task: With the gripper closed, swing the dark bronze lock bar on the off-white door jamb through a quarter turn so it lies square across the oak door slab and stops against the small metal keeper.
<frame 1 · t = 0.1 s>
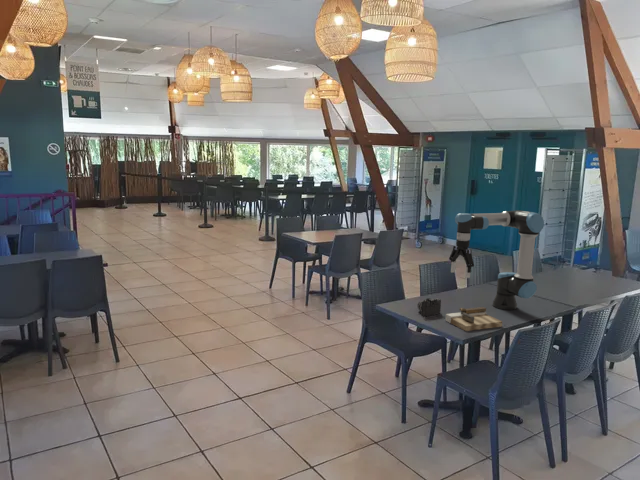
hand: (460, 275, 300), 28 cm above the table, fingers open, 13 cm apart
camera: (427, 313, 317), on the table
keeper: (467, 325, 295), resting on door slab
door slab: (476, 324, 298), on the table
swing bar: (472, 309, 307), point 6 cm above the table, hinge at 90.0°
jamb: (465, 319, 306), on the table
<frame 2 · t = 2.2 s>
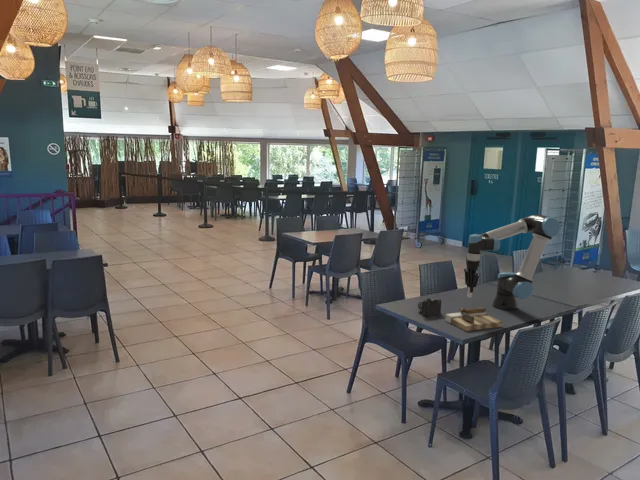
hand: (469, 297, 314), 11 cm above the table, fingers closed
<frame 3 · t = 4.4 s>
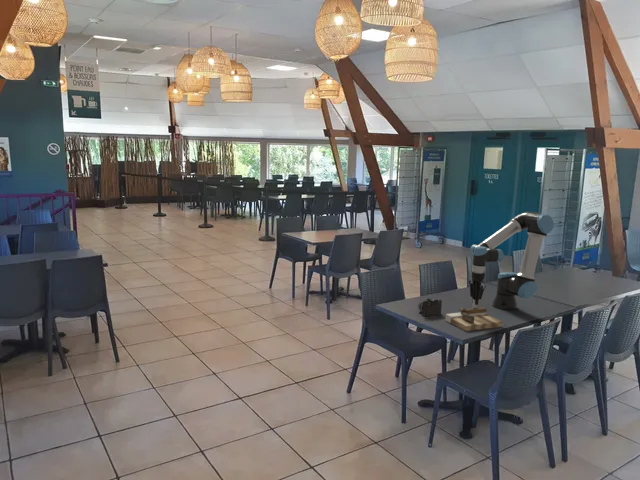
hand: (474, 309, 310), 5 cm above the table, fingers closed
swing bar: (472, 309, 307), point 6 cm above the table, hinge at 88.0°, touching gripper
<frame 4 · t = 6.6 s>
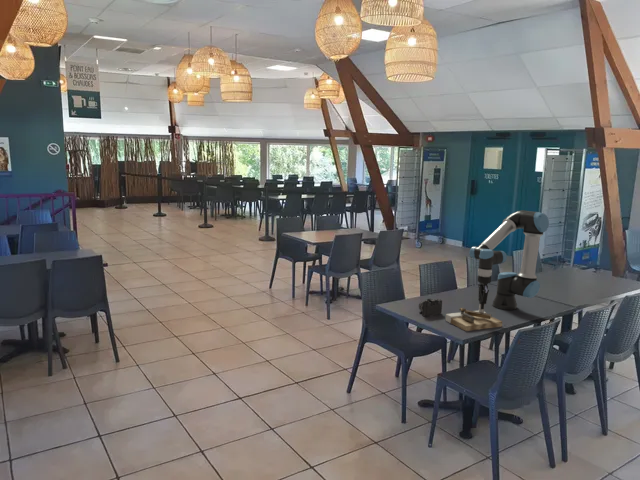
hand: (481, 313, 302), 5 cm above the table, fingers closed
swing bar: (474, 313, 301), point 6 cm above the table, hinge at 37.7°, touching gripper
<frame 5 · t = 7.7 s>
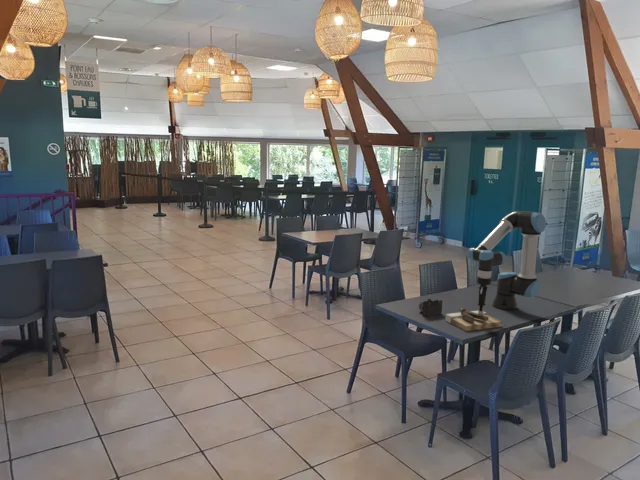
hand: (480, 315, 298), 5 cm above the table, fingers closed
swing bar: (473, 314, 299), point 6 cm above the table, hinge at 17.9°, touching gripper
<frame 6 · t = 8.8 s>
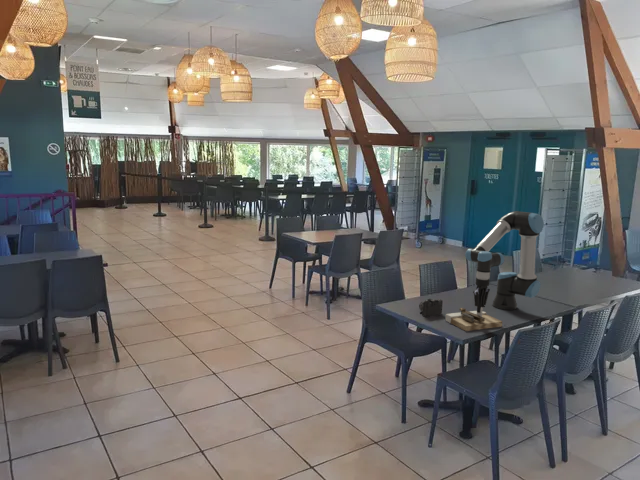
hand: (479, 317, 296), 5 cm above the table, fingers closed
swing bar: (471, 314, 298), point 6 cm above the table, hinge at 4.6°, touching gripper
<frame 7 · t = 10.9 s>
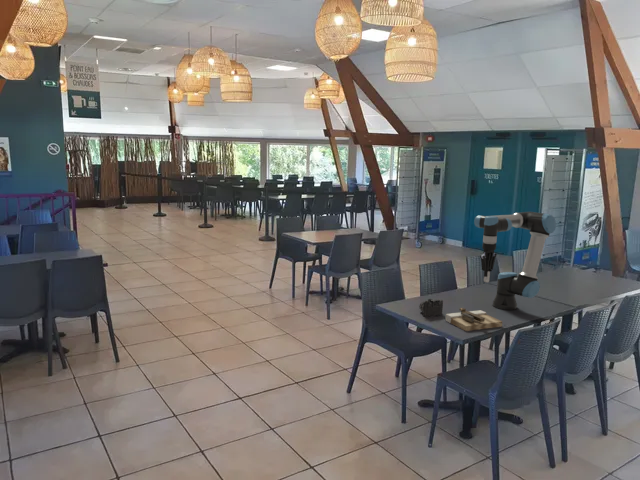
hand: (486, 281, 300), 25 cm above the table, fingers closed
swing bar: (471, 314, 298), point 6 cm above the table, hinge at 4.5°
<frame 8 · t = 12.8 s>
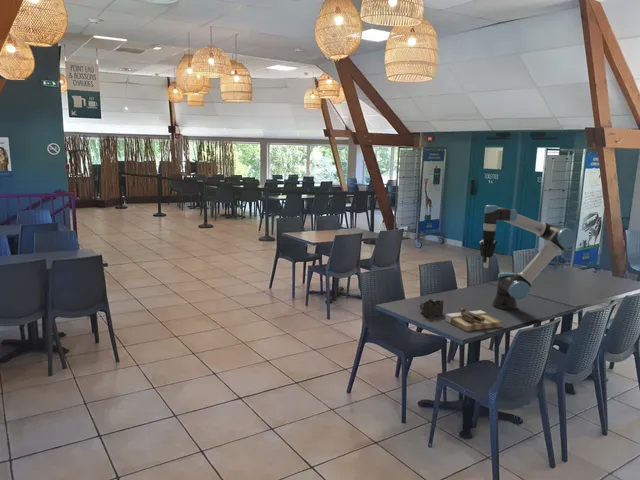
hand: (485, 267, 316), 29 cm above the table, fingers closed
at the end: swing bar at +4° (first picture: +90°) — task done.
